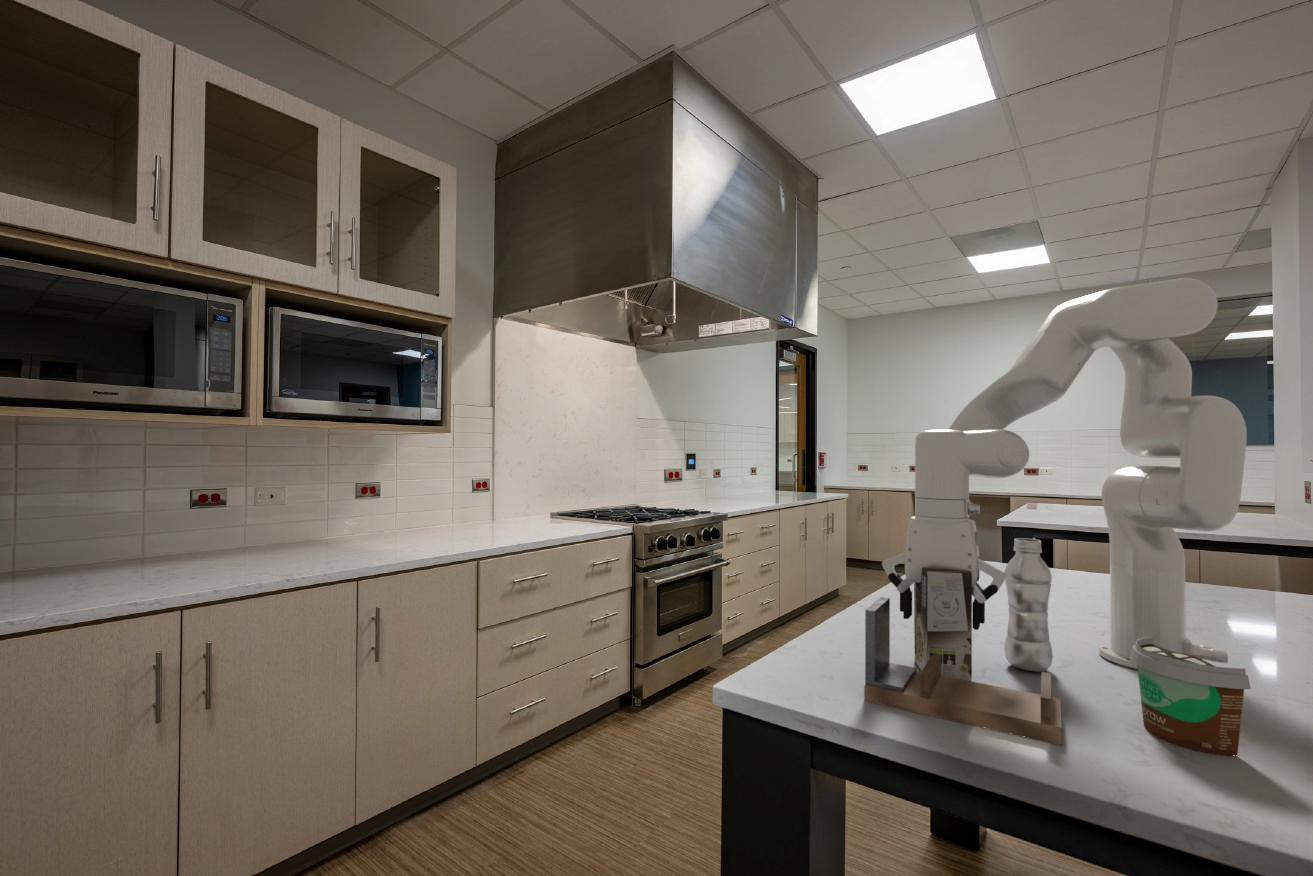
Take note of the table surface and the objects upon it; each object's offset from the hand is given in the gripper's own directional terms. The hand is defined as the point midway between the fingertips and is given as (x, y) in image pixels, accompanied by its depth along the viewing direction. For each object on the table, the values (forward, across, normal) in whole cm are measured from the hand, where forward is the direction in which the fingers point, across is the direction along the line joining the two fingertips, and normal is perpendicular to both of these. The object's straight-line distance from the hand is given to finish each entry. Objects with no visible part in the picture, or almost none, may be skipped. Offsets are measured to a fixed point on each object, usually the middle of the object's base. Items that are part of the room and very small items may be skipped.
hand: (941, 622), depth 93 cm
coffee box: (+8, 0, 0) cm, 8 cm away
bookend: (+6, +5, +13) cm, 15 cm away
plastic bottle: (+8, -11, -9) cm, 16 cm away
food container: (+8, -26, +8) cm, 28 cm away
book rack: (+7, -4, +13) cm, 15 cm away
